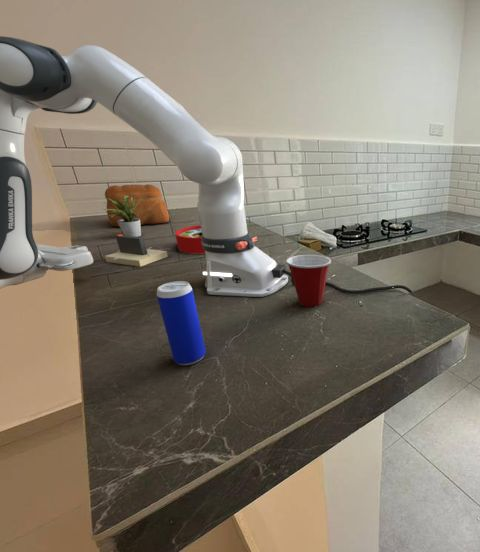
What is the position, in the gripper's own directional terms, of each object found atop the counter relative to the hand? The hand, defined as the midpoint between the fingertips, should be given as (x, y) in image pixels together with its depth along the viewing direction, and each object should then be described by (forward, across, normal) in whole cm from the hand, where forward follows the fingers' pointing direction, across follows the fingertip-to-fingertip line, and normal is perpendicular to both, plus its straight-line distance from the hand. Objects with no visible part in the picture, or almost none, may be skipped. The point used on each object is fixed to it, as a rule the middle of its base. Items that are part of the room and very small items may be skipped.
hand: (83, 248), depth 94 cm
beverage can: (-28, -60, +7) cm, 67 cm away
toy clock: (+31, -14, +7) cm, 35 cm away
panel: (+11, -4, +7) cm, 14 cm away
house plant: (+32, +22, +7) cm, 40 cm away
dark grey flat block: (+11, -3, +5) cm, 13 cm away
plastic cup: (0, -72, +7) cm, 72 cm away
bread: (+49, +36, +7) cm, 62 cm away
